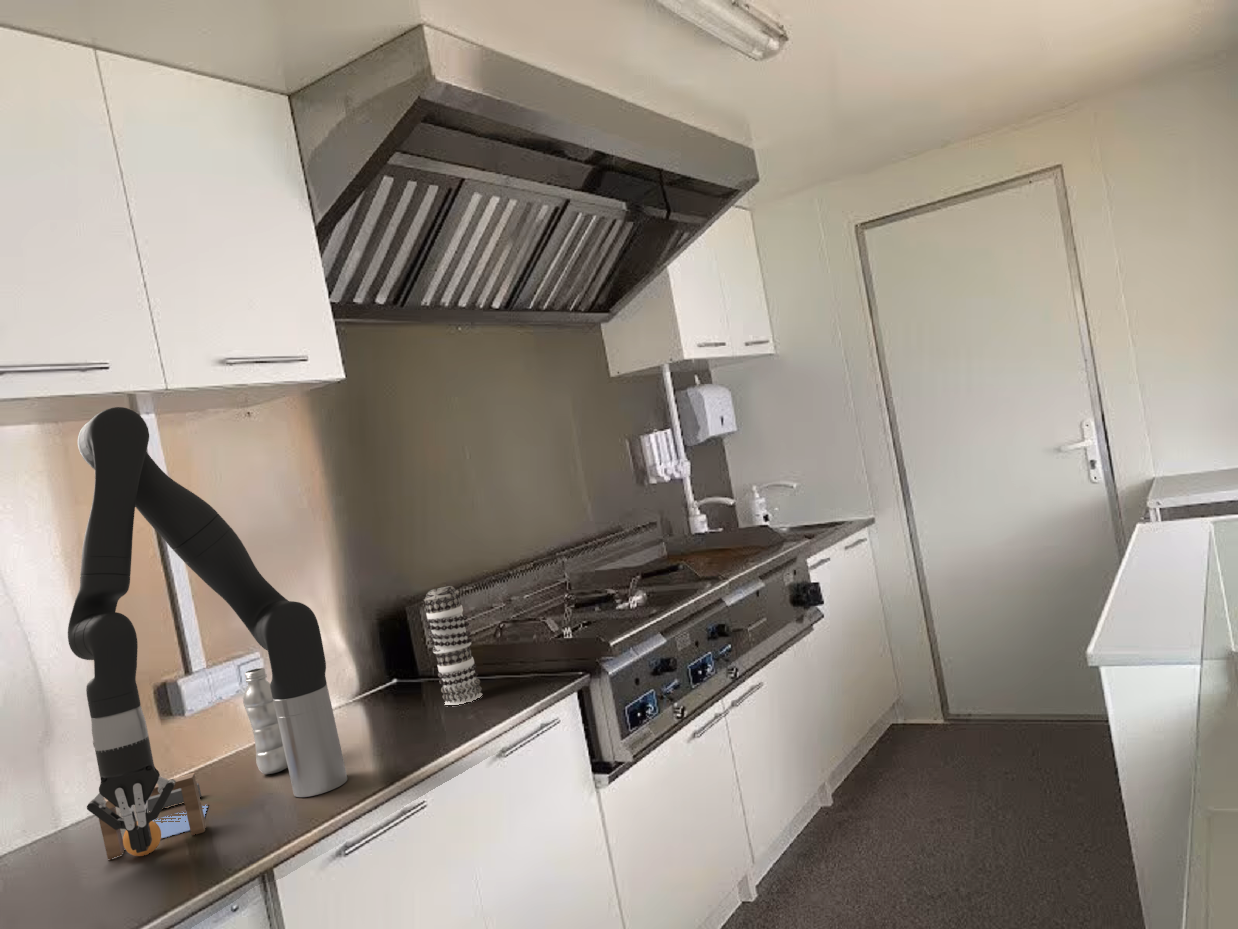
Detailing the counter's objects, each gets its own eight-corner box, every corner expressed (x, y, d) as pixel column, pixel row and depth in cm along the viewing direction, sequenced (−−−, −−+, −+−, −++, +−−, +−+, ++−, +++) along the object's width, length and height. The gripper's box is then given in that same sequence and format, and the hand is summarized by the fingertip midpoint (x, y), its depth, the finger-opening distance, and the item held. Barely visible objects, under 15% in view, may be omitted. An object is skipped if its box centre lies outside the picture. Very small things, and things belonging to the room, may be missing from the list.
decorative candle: (433, 707, 217) (409, 595, 216) (464, 693, 224) (441, 585, 223) (462, 707, 211) (437, 592, 210) (492, 693, 218) (468, 582, 218)
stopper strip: (149, 811, 182) (146, 797, 182) (201, 796, 184) (198, 783, 184) (147, 814, 180) (144, 800, 180) (200, 799, 183) (197, 785, 183)
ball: (125, 862, 153) (134, 863, 158) (162, 845, 155) (169, 846, 160) (114, 828, 155) (122, 830, 159) (150, 811, 156) (158, 814, 161)
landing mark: (130, 828, 174) (129, 826, 174) (208, 805, 177) (208, 804, 177) (116, 852, 161) (116, 851, 161) (201, 827, 165) (201, 826, 165)
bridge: (111, 854, 161) (99, 799, 161) (206, 826, 165) (194, 772, 165) (108, 860, 158) (95, 804, 158) (204, 832, 162) (192, 777, 162)
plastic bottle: (298, 762, 194) (276, 662, 193) (288, 774, 187) (265, 670, 187) (266, 769, 194) (244, 669, 193) (254, 781, 187) (231, 678, 186)
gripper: (170, 724, 159) (190, 831, 159) (79, 746, 155) (100, 855, 155) (164, 734, 152) (185, 845, 152) (69, 757, 148) (90, 871, 148)
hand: (142, 850), depth 154 cm, fingers closed
